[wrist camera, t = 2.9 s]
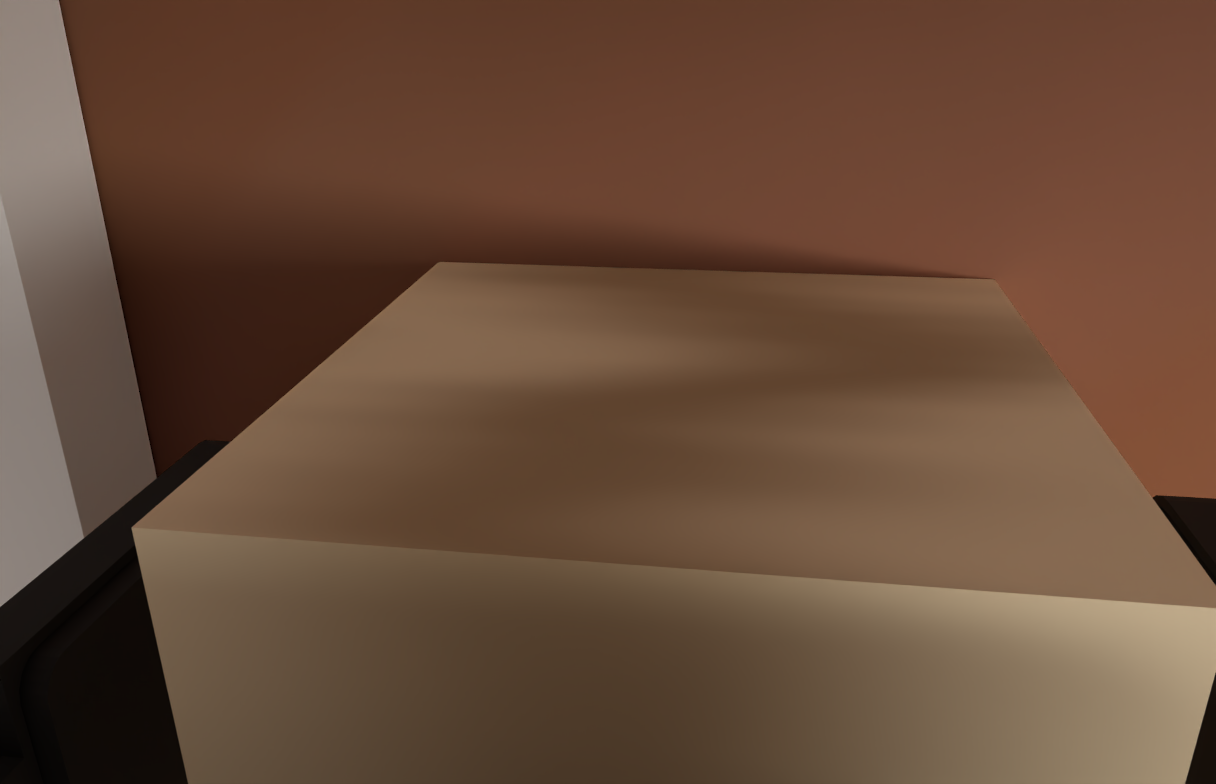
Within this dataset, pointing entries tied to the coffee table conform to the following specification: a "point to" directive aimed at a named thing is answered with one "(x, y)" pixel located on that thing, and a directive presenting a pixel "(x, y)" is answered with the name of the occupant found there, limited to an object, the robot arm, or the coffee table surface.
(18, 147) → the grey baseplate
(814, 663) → the maple block
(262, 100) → the coffee table surface
